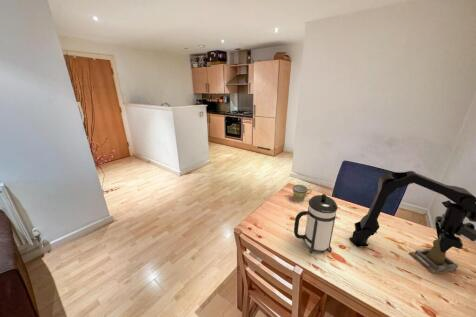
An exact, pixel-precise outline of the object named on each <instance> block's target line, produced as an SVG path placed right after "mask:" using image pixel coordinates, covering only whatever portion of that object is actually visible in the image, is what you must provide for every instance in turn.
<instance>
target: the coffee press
mask: <svg viewBox="0 0 476 317" xmlns="http://www.w3.org/2000/svg"><path fill="white" fill-rule="evenodd" d="M338 208H339V207H338V204H337V202H336V201H335V200H334V199H333V198H332V197H329V196H327V194H325V193H322V194H317V195H313V196H311V198H309V199H308V207H307V210H303V211H300V212H298V213H297V215H296V216H295V219H294V226H293V233H294V234H293V235H294V236H295V237H296V239H300V240H304V241H305V243H306V246H308V247H309V248H310V250H309V253H310V254H313V253H314V251H325V250H327V252H328V253H331V252H332V250H333V249H332V246H331V241H332V237H333V232H334V228H335V220H336V216H337V212H338V211H337V210H338ZM303 216H307V217H306V223H305V231H304V234H299V226H300V225H299V224H300V221H301V220H300V219H301V218H302V217H303Z"/></svg>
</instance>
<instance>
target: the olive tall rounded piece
mask: <svg viewBox="0 0 476 317" xmlns="http://www.w3.org/2000/svg"><path fill="white" fill-rule="evenodd" d="M432 244H433V246H432V247H431V248H430V249H431V250H430V252H429V253H428V255H427V256H426V257H427V258H428V259H429V260H431V261H432V262H433V263H434V264H436V265H437V266H442V265H444V260H445V256H446V255H447V254H446V253H447V251H449V249H448V250H447V251H446V252H444V253H443V252H441V251H440V245H439V239H438V238H437V239H434V240H433V241H432Z"/></svg>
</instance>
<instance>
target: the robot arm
mask: <svg viewBox="0 0 476 317" xmlns="http://www.w3.org/2000/svg"><path fill="white" fill-rule="evenodd" d="M378 179H379V180H378V184H377V192H376V194H375V197H374V198H373V200H372V202H371V205H370V208H369V209H368V212H367V214H366V215H363V217H361V220H360V221H357V222H355V223H354V230H353V232H352V235H351V237H349V240H350V242H352V243H353V245H354V246H355V247H356V248H364V247H366V248H367V247H369V244H368V240H369V238H370V237H371V236H373V235H375V234H377V233H378V230H379V229H380V224H379V223H380V222H379V221H378V219H379V217H380V214H381V212H382V210H383V208H384V206H385V204H386V202H387V199H388V198H389V196H391V195H392V194H394V193H395V191H397V189H401V188H404V187H406V186H408V185H411V184H415V185H418V186H420V187H422V188H425V189H427V190H430V191H432V192H434V193H437V194H440V195H441V196H444V197H446V198H447V199H448V200H446V201H442V202H441V205H443V206H444V208H446V209H445V211H444V213H442V215H441V216H440V215H438V216H436V217H435V218H434V221H435V223H434V224H435V230H436V237H437V239H439V245H440V251H441V252H443V253H444V252H446V253H447V250H448V249H451V248H456V249H459V250H461V249H462V248H463V246H464V244H463V241H462V239H461V238H460V237H461V236H463V237H465V238H467V239H469V240H470V241H471V242H475V241H476V226H475V225H474V223H476V196H475V195H474V194H472V193H471V192H470V191H469V190H467V188H463V187H461V186H457V185H456V186H455V185H448V184H445V183H442V182H440V181H438V180H434V179H432V178H429V177H427V176H425V175H422V174H420V173H417V171H412V170H407V171H400V172H399V171H398V172H396V171H395V172H391V173H383V174H380V176H379V178H378ZM465 218H466V219H468V221H470V222H466V223H465V222H464V221H465ZM472 222H473V223H472ZM458 236H459V237H458ZM448 251H449V250H448Z"/></svg>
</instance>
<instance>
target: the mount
mask: <svg viewBox="0 0 476 317" xmlns="http://www.w3.org/2000/svg"><path fill="white" fill-rule="evenodd" d="M431 249H432V248H424V249H415V251H409V252H408V255H409V256H410V257H412V258H413V259H414V260H415V261H417V262H418V263H419V264H420V265H421V266H422V267H423V268H425V269H426V270H427V271H428V272H429V273H431V274H438V273H445V272H454V271H457V269H458V267H459V265H458V264H457V263H455V262H453V261H452V260H451V259H450V258H448V257H447V256H446V255H445V260H444V265H442V266H437V265H436V264H434V263H433V262H432V261H431V260H429V259H428V258H427V257H426V256H427V255H428V253H429V252H430V250H431Z"/></svg>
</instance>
